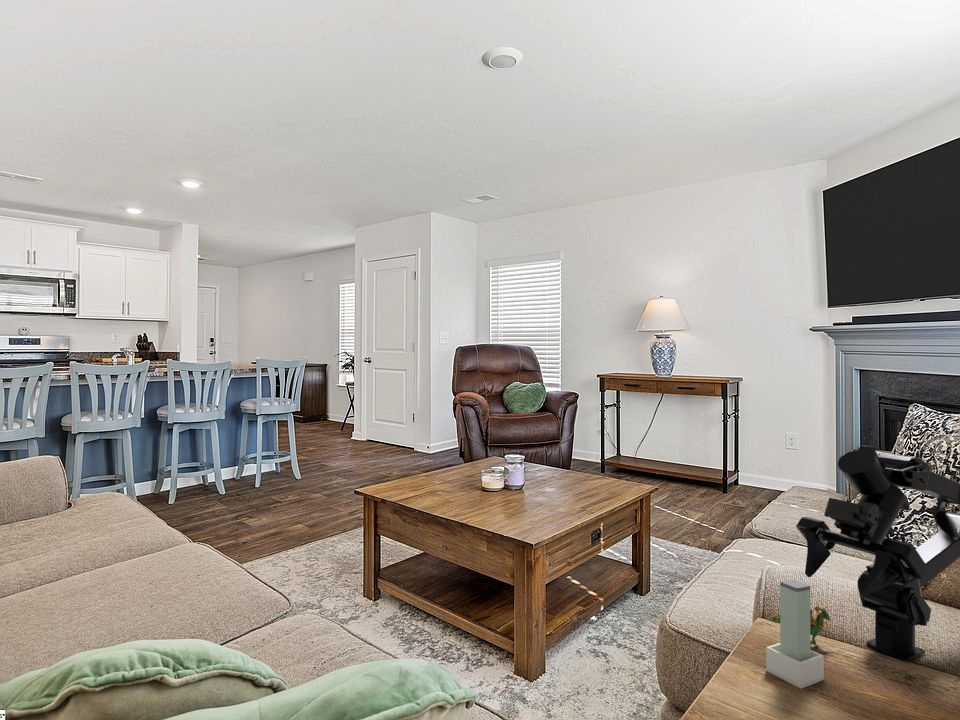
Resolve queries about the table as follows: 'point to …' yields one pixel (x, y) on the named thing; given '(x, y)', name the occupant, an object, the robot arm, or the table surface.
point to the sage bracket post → (795, 620)
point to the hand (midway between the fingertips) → (833, 585)
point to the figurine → (812, 622)
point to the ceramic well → (795, 667)
